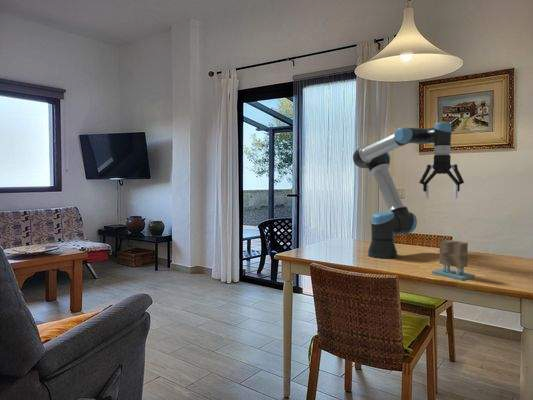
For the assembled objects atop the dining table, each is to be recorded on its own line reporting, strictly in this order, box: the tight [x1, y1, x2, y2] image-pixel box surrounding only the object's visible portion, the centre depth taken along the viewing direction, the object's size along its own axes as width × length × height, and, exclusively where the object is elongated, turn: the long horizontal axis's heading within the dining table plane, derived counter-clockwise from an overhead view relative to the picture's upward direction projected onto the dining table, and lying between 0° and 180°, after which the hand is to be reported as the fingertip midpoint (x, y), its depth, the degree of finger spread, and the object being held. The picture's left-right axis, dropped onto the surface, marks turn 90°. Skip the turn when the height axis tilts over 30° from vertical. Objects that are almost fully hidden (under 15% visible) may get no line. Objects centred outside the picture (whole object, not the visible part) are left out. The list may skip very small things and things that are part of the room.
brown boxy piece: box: [439, 239, 469, 268], centre depth 170 cm, size 10×4×10 cm, turn 30°
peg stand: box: [431, 264, 476, 281], centre depth 171 cm, size 14×9×4 cm, turn 30°
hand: (441, 198), depth 195 cm, fingers open, 13 cm apart
